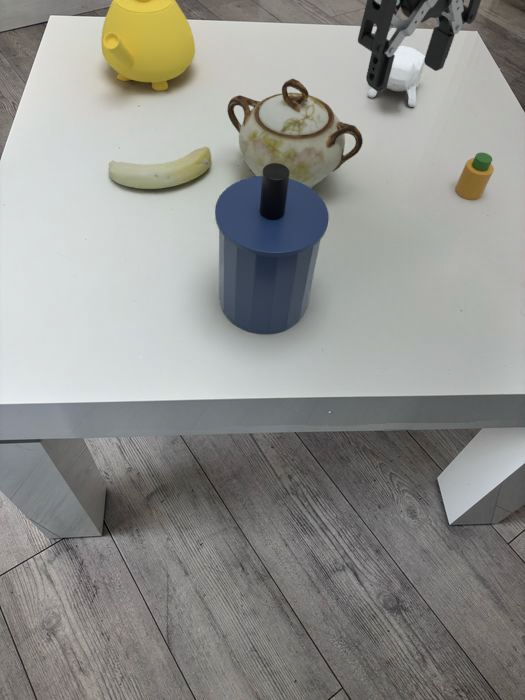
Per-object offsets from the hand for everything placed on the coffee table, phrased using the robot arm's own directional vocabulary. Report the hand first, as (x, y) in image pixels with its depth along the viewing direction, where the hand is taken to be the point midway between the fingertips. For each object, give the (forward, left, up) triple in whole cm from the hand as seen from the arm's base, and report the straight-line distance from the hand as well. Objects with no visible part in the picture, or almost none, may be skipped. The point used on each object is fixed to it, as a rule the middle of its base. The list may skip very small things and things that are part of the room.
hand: (405, 77), depth 58 cm
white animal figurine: (+8, -36, -22) cm, 43 cm away
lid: (+6, +18, -8) cm, 21 cm away
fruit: (+30, +4, -22) cm, 38 cm away
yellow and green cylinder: (-11, -17, -22) cm, 30 cm away
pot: (+6, +18, -22) cm, 29 cm away
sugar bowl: (+14, -5, -22) cm, 27 cm away
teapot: (+47, -16, -22) cm, 54 cm away
